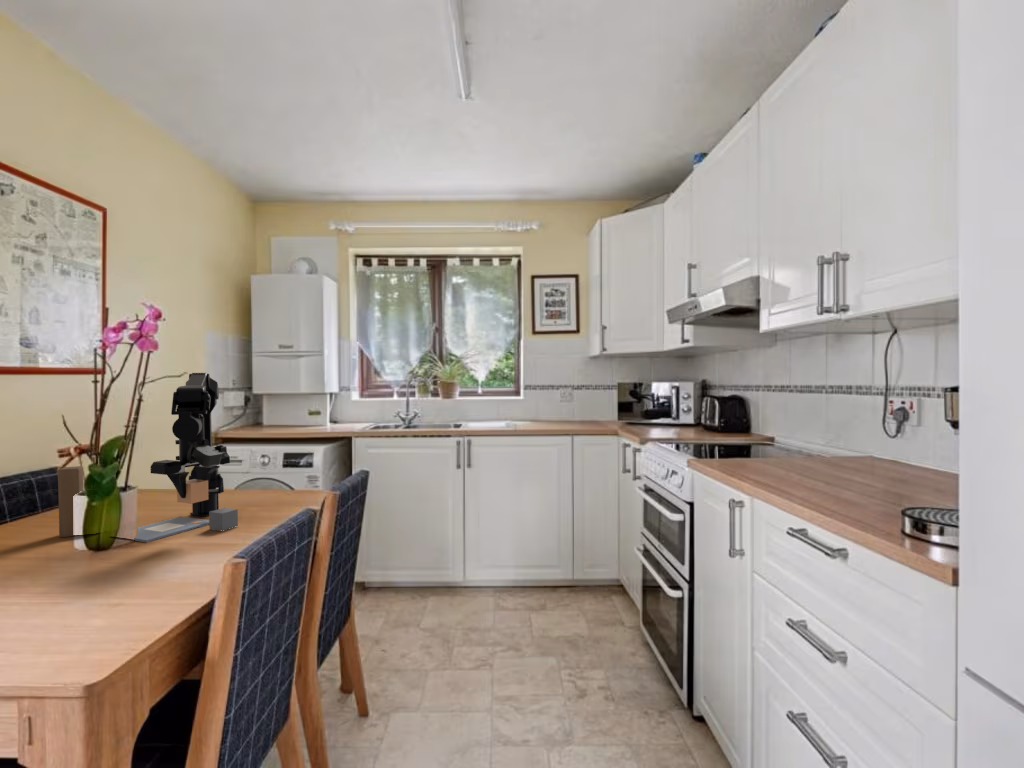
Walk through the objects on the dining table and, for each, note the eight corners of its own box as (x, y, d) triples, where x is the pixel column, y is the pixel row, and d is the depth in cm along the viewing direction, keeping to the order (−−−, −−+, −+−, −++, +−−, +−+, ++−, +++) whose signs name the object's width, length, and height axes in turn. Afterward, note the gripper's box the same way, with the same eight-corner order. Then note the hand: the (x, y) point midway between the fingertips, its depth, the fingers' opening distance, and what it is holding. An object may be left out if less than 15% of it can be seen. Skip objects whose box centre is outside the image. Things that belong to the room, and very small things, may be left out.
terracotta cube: (194, 497, 149) (194, 479, 149) (208, 499, 147) (208, 480, 147) (177, 502, 144) (176, 482, 144) (191, 503, 142) (190, 484, 142)
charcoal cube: (224, 525, 159) (224, 507, 159) (237, 527, 157) (237, 509, 157) (209, 529, 155) (209, 511, 155) (222, 531, 153) (222, 513, 153)
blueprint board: (180, 518, 167) (180, 516, 167) (214, 522, 161) (214, 520, 161) (110, 536, 148) (110, 534, 148) (146, 542, 143) (146, 539, 143)
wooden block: (104, 529, 155) (103, 464, 155) (100, 533, 151) (99, 467, 151) (64, 533, 151) (62, 467, 151) (58, 538, 147) (57, 469, 147)
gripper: (180, 441, 133) (181, 507, 134) (244, 433, 151) (245, 491, 151) (148, 439, 138) (149, 502, 138) (214, 431, 155) (215, 487, 155)
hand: (192, 495), depth 145 cm, fingers closed on terracotta cube, 5 cm apart
